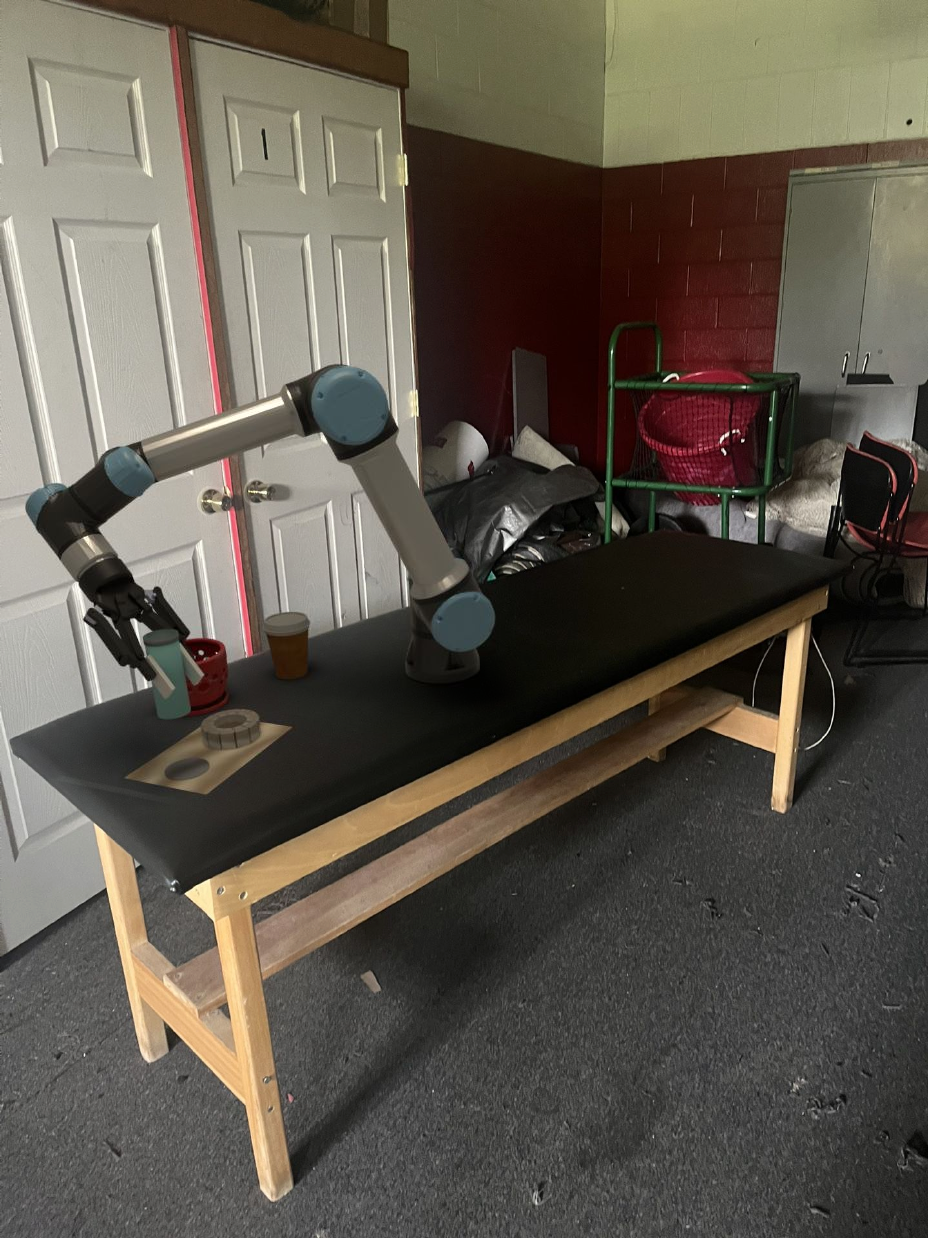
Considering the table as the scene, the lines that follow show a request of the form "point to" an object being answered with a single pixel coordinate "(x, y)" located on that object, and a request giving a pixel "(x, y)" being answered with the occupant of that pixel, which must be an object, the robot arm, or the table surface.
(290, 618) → the disposable coffee cup
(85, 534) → the robot arm
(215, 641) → the plant pot
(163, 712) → the teal cylindrical container
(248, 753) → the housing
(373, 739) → the table surface
